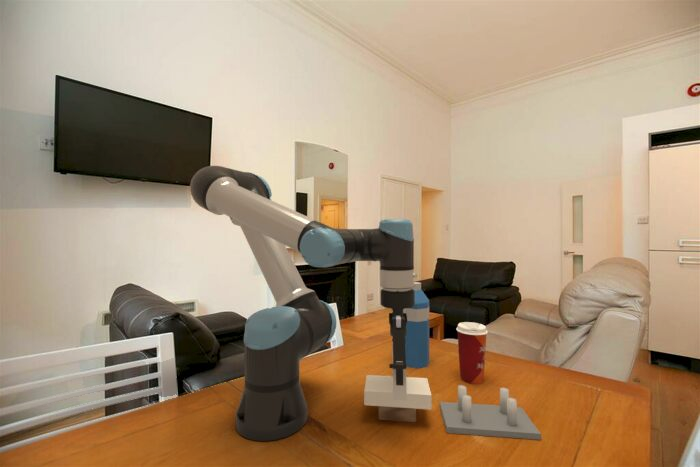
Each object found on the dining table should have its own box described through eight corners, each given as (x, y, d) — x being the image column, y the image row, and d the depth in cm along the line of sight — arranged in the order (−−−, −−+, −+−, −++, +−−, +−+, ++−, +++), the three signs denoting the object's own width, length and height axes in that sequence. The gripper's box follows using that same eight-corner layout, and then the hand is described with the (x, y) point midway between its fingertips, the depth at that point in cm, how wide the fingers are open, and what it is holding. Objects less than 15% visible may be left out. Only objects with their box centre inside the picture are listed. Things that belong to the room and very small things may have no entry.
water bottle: (432, 368, 98) (432, 285, 98) (401, 368, 98) (401, 285, 98) (426, 356, 107) (426, 280, 107) (397, 356, 107) (397, 280, 107)
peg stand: (447, 432, 66) (447, 402, 66) (439, 406, 76) (439, 380, 76) (541, 439, 64) (541, 408, 64) (520, 412, 74) (521, 384, 74)
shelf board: (364, 405, 69) (364, 391, 69) (367, 387, 77) (367, 374, 77) (431, 409, 68) (431, 395, 68) (427, 391, 75) (427, 378, 75)
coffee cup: (490, 387, 86) (490, 330, 86) (458, 384, 87) (458, 328, 87) (484, 373, 94) (484, 322, 94) (454, 371, 96) (454, 320, 96)
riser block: (378, 419, 71) (378, 401, 71) (379, 409, 75) (379, 392, 75) (415, 422, 70) (415, 403, 70) (414, 412, 74) (414, 394, 74)
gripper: (419, 299, 60) (421, 415, 59) (410, 280, 84) (412, 362, 84) (378, 299, 60) (380, 413, 60) (381, 280, 85) (383, 361, 85)
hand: (398, 384), depth 72 cm, fingers open, 13 cm apart
